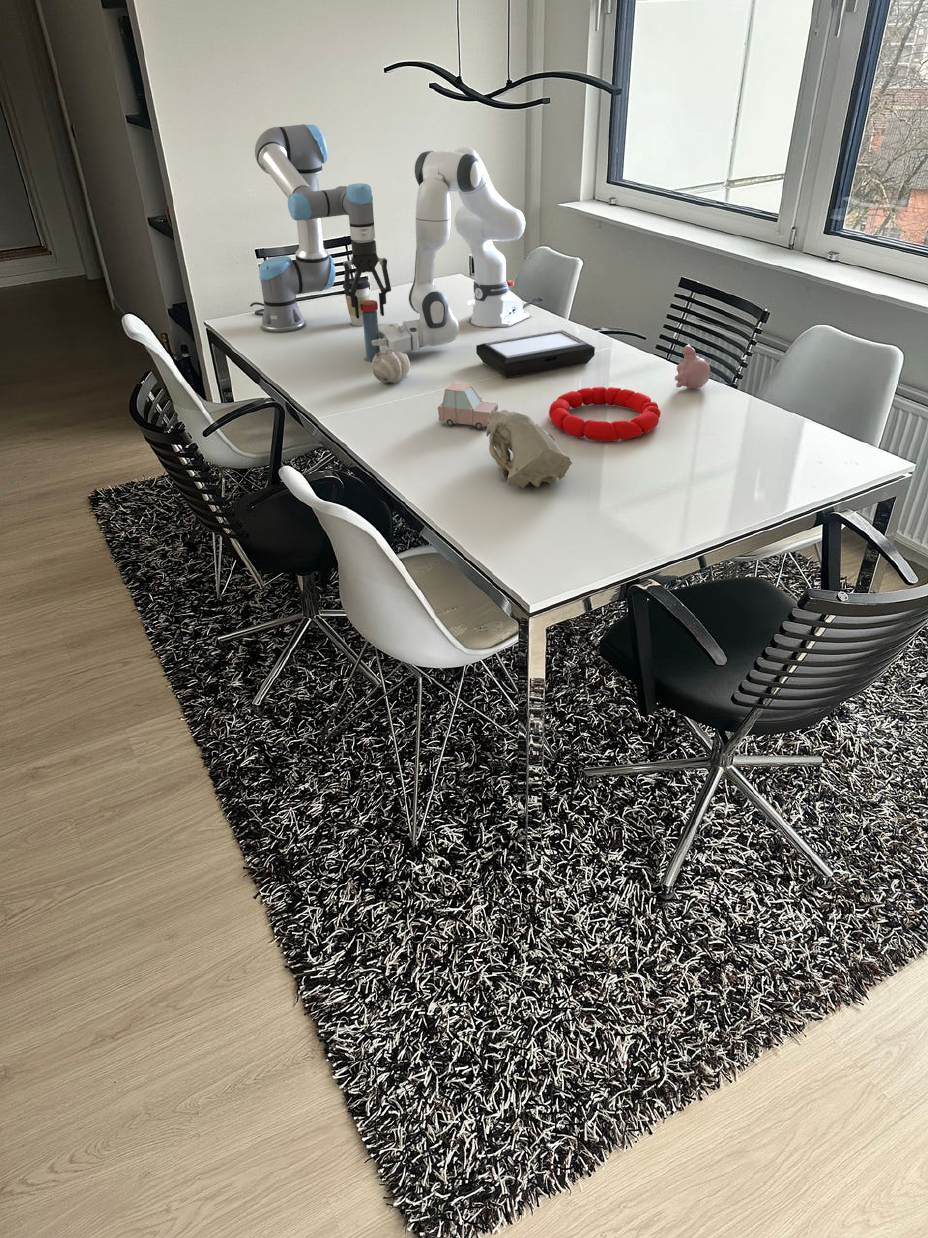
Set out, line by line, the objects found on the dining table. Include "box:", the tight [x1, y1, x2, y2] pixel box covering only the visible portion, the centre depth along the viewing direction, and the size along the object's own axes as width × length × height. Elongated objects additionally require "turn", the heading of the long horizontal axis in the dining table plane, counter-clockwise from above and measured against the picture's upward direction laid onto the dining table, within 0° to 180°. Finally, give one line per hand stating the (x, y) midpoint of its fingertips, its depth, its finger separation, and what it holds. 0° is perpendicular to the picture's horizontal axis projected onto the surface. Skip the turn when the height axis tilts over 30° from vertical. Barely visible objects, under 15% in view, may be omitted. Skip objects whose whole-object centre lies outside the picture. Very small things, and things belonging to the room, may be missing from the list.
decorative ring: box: [548, 386, 661, 442], centre depth 242 cm, size 7×30×30 cm
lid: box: [360, 299, 379, 312], centre depth 284 cm, size 6×6×2 cm
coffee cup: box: [342, 277, 371, 327], centre depth 323 cm, size 10×10×15 cm
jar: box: [362, 310, 381, 362], centre depth 289 cm, size 5×5×17 cm
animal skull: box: [485, 409, 573, 489], centre depth 216 cm, size 17×25×20 cm
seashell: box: [371, 349, 411, 384], centre depth 271 cm, size 10×15×10 cm
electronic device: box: [475, 329, 596, 379], centre depth 283 cm, size 32×6×20 cm
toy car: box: [437, 382, 499, 431], centre depth 243 cm, size 9×15×10 cm, turn 70°
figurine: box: [674, 344, 711, 390], centre depth 259 cm, size 9×11×12 cm
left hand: (369, 315), depth 286 cm, fingers open, 7 cm apart
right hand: (369, 339), depth 290 cm, fingers closed on jar, 5 cm apart
